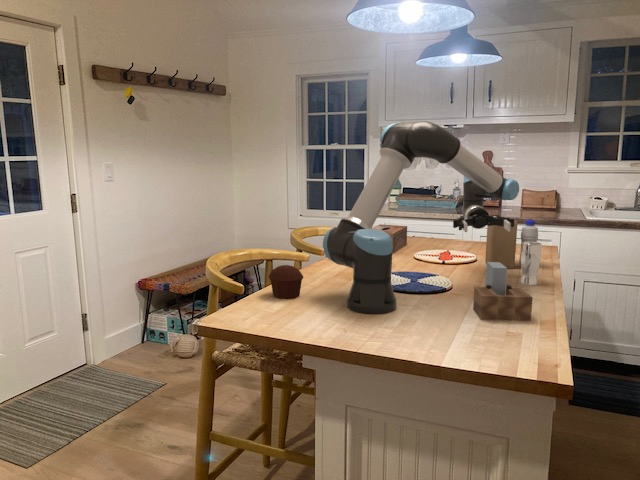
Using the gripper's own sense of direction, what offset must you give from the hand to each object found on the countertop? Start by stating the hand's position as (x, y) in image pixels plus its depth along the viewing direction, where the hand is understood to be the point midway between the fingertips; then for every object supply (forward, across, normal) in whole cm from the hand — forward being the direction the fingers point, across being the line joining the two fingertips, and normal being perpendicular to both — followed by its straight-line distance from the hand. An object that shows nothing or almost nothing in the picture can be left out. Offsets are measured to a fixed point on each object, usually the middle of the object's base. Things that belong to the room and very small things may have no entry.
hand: (487, 227), depth 171 cm
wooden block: (-45, -13, -26) cm, 53 cm away
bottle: (-45, -24, -26) cm, 57 cm away
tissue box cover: (-78, +34, -25) cm, 89 cm away
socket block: (+22, 0, -22) cm, 31 cm away
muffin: (+11, +66, -20) cm, 70 cm away
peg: (+14, 0, -22) cm, 26 cm away
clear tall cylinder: (-17, -18, -25) cm, 35 cm away
